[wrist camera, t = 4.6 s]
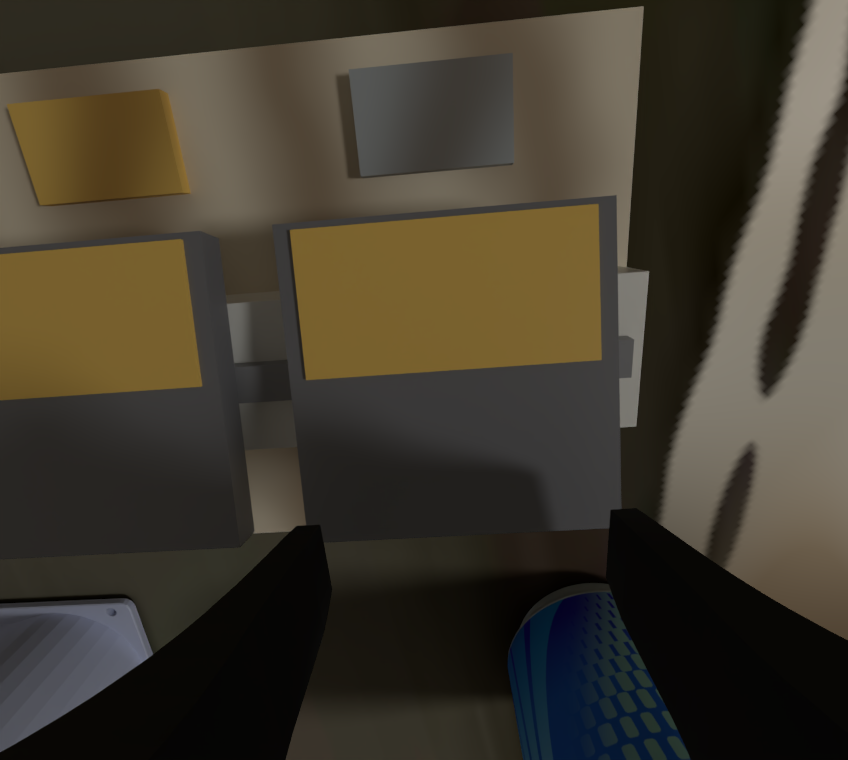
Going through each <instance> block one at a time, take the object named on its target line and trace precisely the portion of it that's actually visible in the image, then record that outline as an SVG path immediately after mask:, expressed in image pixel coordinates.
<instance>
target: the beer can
mask: <svg viewBox="0 0 848 760" xmlns="http://www.w3.org/2000/svg"><path fill="white" fill-rule="evenodd" d="M508 672H509V678H510V684H511V690H512V696H513V702H514V708H515V714H516V720H517V725H518V731H519V737H520V743H521V749H522V755H523V760H691V759H690V757H689V754H688V752H687V749H686V747H685V745H684V743H683V740H682V738H681V736H680V734H679V732H678V730H677V728H676V726H675V723H674V721H673V719H672V717H671V715H670V713H669V711H668V710H667V708H666V706H665V704H664V702H663V700H662V698H661V696H660V694H659V692H658V690H657V688H656V686H655V684H654V682H653V680H652V678H651V676H650V674H649V672H648V671H647V669H646V667H645V665H644V663H643V661H642V659H641V657H640V655H639V653H638V651H637V649H636V647H635V645H634V643H633V641H632V639H631V637H630V635H629V633H628V631H627V629H626V627H625V625H624V623H623V621H622V619H621V616H620V614H619V611H618V609H617V606H616V603H615V601H614V598H613V595H612V593H611V590H610V587H609V584H603V583H583V584H576V585H571V586H568V587H564V588H562V589H559V590H557V591H554V592H552V593H550V594H549V595H547V596H545V597H544V598H542V599H541V600H540V601H538V602H537V603H536V604H535V605H534V606H533V607H532V608H531V609H530V611H529V612H528V613H527V615H526V616H525V618H524V619H523V621H522V624H521V626H520V628H519V630H518V631H517V633H516V634H515V636H514V638H513V640H512V643H511V645H510V649H509V653H508Z"/></svg>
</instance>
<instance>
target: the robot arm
mask: <svg viewBox="0 0 848 760" xmlns="http://www.w3.org/2000/svg"><path fill="white" fill-rule="evenodd" d="M606 579H607V581H608V584H609V587H610V590H611V593H612V595H613V598H614V601H615V603H616V606H617V609H618V611H619V614H620V616H621V619H622V621H623V623H624V625H625V627H626V629H627V631H628V633H629V635H630V637H631V639H632V641H633V643H634V645H635V647H636V649H637V651H638V653H639V655H640V657H641V659H642V661H643V663H644V665H645V667H646V669H647V671H648V672H649V674H650V676H651V678H652V680H653V682H654V684H655V686H656V688H657V690H658V692H659V694H660V696H661V698H662V700H663V702H664V704H665V706H666V708H667V710H668V711H669V713H670V715H671V717H672V719H673V721H674V723H675V726H676V728H677V730H678V732H679V734H680V736H681V738H682V740H683V743H684V745H685V747H686V749H687V752H688V754H689V757H690V759H691V760H848V640H846V639H844V638H842V637H840V636H838V635H836V634H834V633H832V632H830V631H828V630H827V629H825V628H823V627H821V626H819V625H818V624H816V623H814V622H812V621H810V620H808V619H806V618H805V617H803V616H801V615H799V614H797V613H796V612H794V611H792V610H790V609H788V608H787V607H785V606H783V605H781V604H780V603H778V602H776V601H775V600H773V599H771V598H770V597H768V596H766V595H765V594H763V593H761V592H760V591H758V590H756V589H755V588H753V587H752V586H750V585H749V584H747V583H745V582H744V581H742V580H740V579H739V578H737V577H736V576H734V575H733V574H731V573H730V572H728V571H726V570H725V569H723V568H722V567H720V566H719V565H717V564H716V563H714V562H713V561H711V560H710V559H708V558H707V557H706V556H704V555H703V554H701V553H700V552H698V551H697V550H695V549H694V548H692V547H691V546H690V545H688V544H686V543H685V542H684V541H682V540H681V539H680V538H678V537H677V536H675V535H674V534H673V533H671V532H670V531H668V530H667V529H665V528H664V527H663V526H661V525H660V524H658V523H657V522H656V521H654V520H653V519H651V518H650V517H648V516H647V515H645V514H644V513H643V512H641V511H639V510H638V509H636V508H633V509H614V510H610V525H609V540H608V555H607V570H606ZM331 592H332V586H331V581H330V575H329V570H328V564H327V559H326V553H325V548H324V543H323V537H322V532H321V526H320V525H303V526H296V527H295V528H294V529H293V530H292V531H291V532H290V533H289V534H288V535H287V536H286V537H284V538H283V539H282V541H281V542H280V543H279V544H278V545H277V546H276V547H275V548H274V549H273V550H272V551H271V552H270V553H269V554H268V555H267V556H266V557H265V558H264V559H263V560H262V561H261V562H260V563H258V564H257V565H256V566H255V567H254V568H253V569H252V570H251V571H250V572H249V573H248V574H247V575H246V576H245V577H244V578H243V579H242V580H241V581H240V582H239V583H238V584H237V585H236V586H235V587H233V588H232V589H231V590H230V591H229V592H228V593H227V594H226V595H225V596H223V597H222V598H221V599H220V600H219V601H218V602H217V603H216V604H215V605H213V606H212V607H211V608H210V609H209V610H208V611H207V612H206V613H205V614H203V615H202V616H201V617H200V618H199V619H198V620H196V621H195V622H194V623H193V624H192V625H190V626H189V627H188V628H187V629H185V630H184V631H183V632H182V633H180V634H179V635H178V636H177V637H175V638H174V639H173V640H171V641H170V642H169V643H168V644H166V645H165V646H164V647H162V648H161V649H160V650H159V651H157V652H156V653H155V654H153V653H152V650H151V647H150V645H149V642H148V639H147V636H146V634H145V631H144V628H143V626H142V623H141V620H140V617H139V615H138V612H137V609H136V606H135V604H134V603H133V602H132V601H131V600H129V599H126V598H116V599H94V600H72V601H49V602H27V603H5V604H0V760H285V759H286V755H287V752H288V748H289V744H290V741H291V737H292V733H293V730H294V727H295V724H296V720H297V717H298V714H299V711H300V708H301V704H302V701H303V698H304V695H305V692H306V689H307V685H308V682H309V679H310V676H311V673H312V669H313V666H314V663H315V660H316V657H317V653H318V650H319V647H320V643H321V640H322V637H323V633H324V630H325V625H326V620H327V615H328V609H329V604H330V598H331Z"/></svg>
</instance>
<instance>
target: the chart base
mask: <svg viewBox="0 0 848 760" xmlns="http://www.w3.org/2000/svg"><path fill="white" fill-rule="evenodd" d="M643 9H644V6H642V7H632V8H623V9H613V10H604V11H594V12H585V13H575V14H566V15H556V16H547V17H537V18H528V19H518V20H509V21H499V22H490V23H480V24H470V25H461V26H451V27H442V28H432V29H423V30H413V31H404V32H394V33H385V34H375V35H366V36H356V37H347V38H337V39H328V40H318V41H309V42H299V43H290V44H280V45H271V46H261V47H252V48H242V49H232V50H223V51H213V52H204V53H194V54H185V55H175V56H166V57H156V58H147V59H137V60H128V61H118V62H109V63H99V64H90V65H80V66H71V67H61V68H52V69H42V70H33V71H23V72H13V73H4V74H0V248H4V247H16V246H28V245H39V244H51V243H63V242H75V241H86V240H98V239H110V238H122V237H133V236H145V235H157V234H168V233H180V232H192V231H202V232H204V233H207V234H209V235H212V236H214V237H217V238H219V244H220V252H221V260H222V268H223V277H224V285H225V293H226V295H232V294H244V293H257V292H270V291H279V282H278V273H277V265H276V256H275V247H274V238H273V229H272V225H273V224H285V223H296V222H308V221H320V220H332V219H343V218H355V217H367V216H378V215H390V214H402V213H414V212H425V211H437V210H449V209H460V208H472V207H484V206H496V205H507V204H519V203H531V202H542V201H554V200H566V199H578V198H589V197H601V196H613V195H617V260H618V266H622V267H626V266H627V251H628V236H629V220H630V205H631V190H632V175H633V160H634V145H635V130H636V115H637V100H638V84H639V69H640V54H641V39H642V24H643ZM245 457H246V465H247V473H248V481H249V489H250V498H251V506H252V514H253V522H254V530H255V532H254V533H271V532H290V531H292V530H293V529H294V528H295V527H296V526H303V525H306V520H305V511H304V502H303V494H302V485H301V476H300V467H299V458H298V450H297V447H289V448H272V449H256V450H245Z"/></svg>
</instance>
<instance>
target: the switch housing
mask: <svg viewBox="0 0 848 760" xmlns="http://www.w3.org/2000/svg"><path fill="white" fill-rule="evenodd" d="M648 277H649V271H645V270H639V269H633V268H628V267H622V266H618V326H619V393H620V427H634V426H636V423H637V411H638V399H639V387H640V375H641V362H642V350H643V338H644V326H645V314H646V302H647V290H648ZM226 301H227V309H228V318H229V326H230V334H231V342H232V350H233V358H234V367H235V375H236V383H237V391H238V399H239V408H240V416H241V424H242V432H243V440H244V448H245V450H256V449H272V448H289V447H297V441H296V432H295V423H294V414H293V406H292V397H291V388H290V379H289V370H288V361H287V353H286V344H285V335H284V326H283V317H282V309H281V300H280V291H270V292H257V293H244V294H232V295H226Z"/></svg>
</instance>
